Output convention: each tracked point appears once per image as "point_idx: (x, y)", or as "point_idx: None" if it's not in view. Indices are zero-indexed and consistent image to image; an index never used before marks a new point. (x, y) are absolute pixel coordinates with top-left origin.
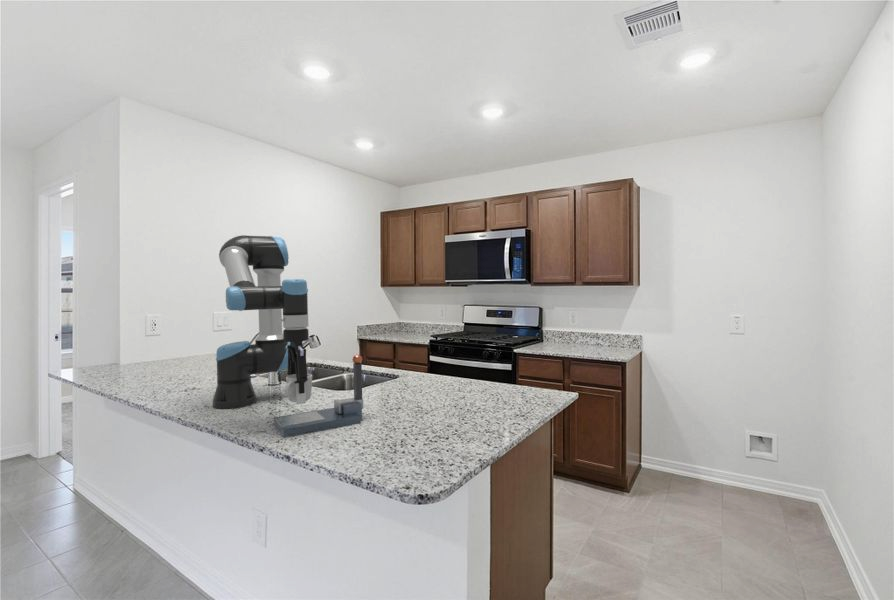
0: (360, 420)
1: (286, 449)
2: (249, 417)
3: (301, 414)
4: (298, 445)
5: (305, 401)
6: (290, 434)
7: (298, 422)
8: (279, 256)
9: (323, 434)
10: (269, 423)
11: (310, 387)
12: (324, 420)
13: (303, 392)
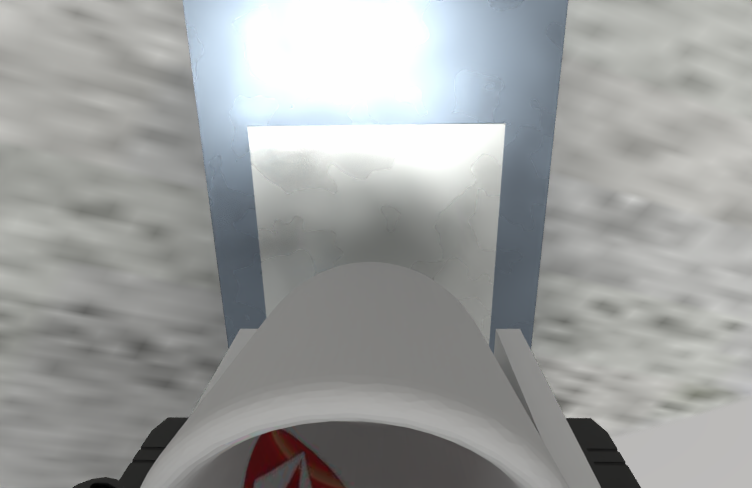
0: None
1: (701, 392)
2: (16, 447)
3: (277, 245)
4: (691, 335)
5: (525, 341)
6: None
7: (467, 308)
8: None
9: (617, 169)
10: (195, 382)
11: (469, 336)
12: (517, 132)
13: (598, 435)
